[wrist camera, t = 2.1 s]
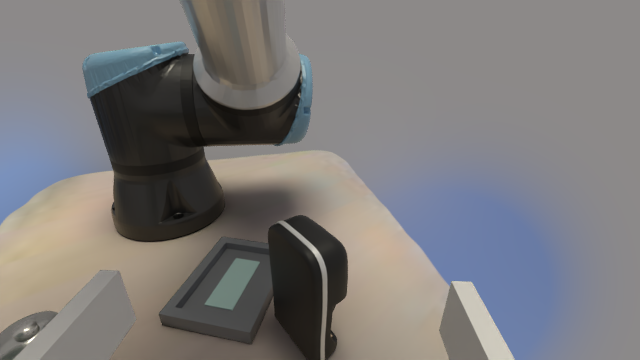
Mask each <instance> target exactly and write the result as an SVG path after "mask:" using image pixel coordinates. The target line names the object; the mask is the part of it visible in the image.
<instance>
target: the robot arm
mask: <svg viewBox="0 0 640 360" xmlns="http://www.w3.org/2000/svg"><path fill="white" fill-rule="evenodd" d="M180 3H181V5H182V8H183V10H184V12H185V15H186V17H187V20H188V22H189V25H190V27H191V30H192V32H193V34H194V37H195V39H196V42H197V44H198V48H197V50H196V53H195V54H188V53H189V49H188V48H187V47H186V44H185V43H184V42H173V43H166V44H158V45H151V46H144V47H137V48H130V49H123V50H115V51H108V52H101V53H94V54H91V55H89V56H88V57H86V59H85V60H84V62H83V66H82V69H83V74H84V78H85V83H86V87H87V91H88V93H87V96H88V98H90V101H91V104H92V106H93V110H94V113H95V116H96V119H97V122H98V125H99V128H100V131H101V134H102V137H103V140H104V143H105V146H106V149H107V152H108V155H109V158H110V161H111V164H112V168H113V171H114V189H113V194H114V202H113V205H112V210H111V213H112V218H113V221H114V224H115V227H116V229H117V231H118V232H119V233H120V234H121V235H123V236H125V237H127V238H130V239H134V240H141V241H157V240H166V239H171V238H176V237H180V236H183V235H186V234H189V233H192V232H195V231H197V230H199V229H201V228H203V227H205V226H207V225H208V224H210V223H211V222H213V221H214V220H215V219H216V218H217V217H218V216H219V215H220V214H221V213H222V211H223V209H224V206H225V201H224V195H223V190H222V187H221V186H220V184H219V183H218V181H217V179H216V177H215V175H214V173H213V171H212V169H211V168H210V166H209V164H208V162H207V160H206V158H205V153H204V148H203V146H235V145H275V146H280V145H283V144H290V143H297V142H299V141H301V140H302V139H303V138H304V137H305V135H306V132H307V129H308V126H309V121H310V114H311V113H310V107H311V103H312V70H311V64H310V61H309V59H308V58H307V57H306V56H305V55H302V54H299V53H298V50H297V48H296V46H295V44H294V43H293V41H292V40H291V39H290V38H289V37H288V36H287V35H286V28H285V3H284V0H180ZM135 321H136V317H135V314H134V311H133V308H132V305H131V303H130V300H129V297H128V294H127V291H126V289H125V286H124V283H123V280H122V277H121V275H120V272H119V271H114V270H100V271H99V272H98V273H97V274H96V275H95V276H94V277H93V278H92V279H91V280H90V281H89V282H88V283H87V284H86V285H85V286H84V287H83V288H82V289H81V290H80V291H79V293H78V294H77V295H76V296H75V297H74V298H73V299H72V300H71V301H70V302H69V303H68V304H67V305H66V306H65V307H64V308H63V309H62V310H61V311H60V312H59V313H58V314H57V315H56V316H55V317H54V318H53V319H52V320H51V321H50V322H49V323H48V324H47V325H46V326H45V327H44V328H43V329H42V330H41V331H40V332H39V333H38V334H37V336H36V337H35V338H34V339H33V340H32V341H31V342H30V343H29V344H28V345H27V346H26V347H25V348H24V349H23V350H22V351H21V352H20V353H19V354H18V355H17V356H16V357H15V358H14V359H13V360H109V359H110V357H111V356H112V354H113V353H114V351H115V350H116V349H117V347H118V346H119V344H120V343H121V341H122V340H123V338H124V337H125V335H126V334H127V332H128V331H129V330H130V328H131V327H132V325H133V324H134V322H135ZM439 331H440V334H441V337H442V340H443V343H444V345H445V348H446V351H447V354H448V357H449V360H515V359H514V358H513V356H512V354H511V352H510V350H509V348H508V347H507V345H506V343H505V341H504V340H503V338H502V336H501V334H500V332H499V330H498V329H497V327H496V325H495V323H494V321H493V320H492V318H491V316H490V314H489V312H488V311H487V309H486V307H485V305H484V303H483V301H482V300H481V298H480V296H479V294H478V293H477V291H476V289H475V287H474V285H473V283H472V282H460V281H452V282H451V285H450V289H449V293H448V297H447V301H446V305H445V309H444V313H443V317H442V321H441V325H440V329H439Z"/></svg>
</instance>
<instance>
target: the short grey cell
mask: <svg viewBox="0 0 640 360" xmlns="http://www.w3.org/2000/svg"><path fill="white" fill-rule="evenodd" d="M57 314H58V313H56V312H52V311H44V312H39V313H35V314H32V315H29V316H27V317H25V318H22V319H20V320H18V321H17V322H15V323H13V324H12V325H10V326H9V327H8V328H6V329H5V330H4V331H3V332H1V333H0V360H13V359H14V358H15V357H16V356H17V355H18V354H19V353H20V352H21V351H22V350H23V349H24V348H25V347H26V346H27V345H28V344H29V343H30V342H31V341H32V340H33V339H34V338H35V337H36V336H37V334H38V333H39V332H40V331H41V330H42V329H43V328H44V327H45V326H46V325H47V324H48V323H49V322H50V321H51V320H52V319H53V318H54V317H55V316H56V315H57Z"/></svg>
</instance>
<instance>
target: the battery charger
mask: <svg viewBox="0 0 640 360" xmlns="http://www.w3.org/2000/svg"><path fill="white" fill-rule="evenodd" d="M268 244H269V258H270V269H271V278H272V287H273V296H274V309H275V316H276V318H277V319H278V321H279V322H280V324H281V325H282V326H283V328H284V329H285V330H286V332H287V333H288V334H289V336H290V337H291V338H292V340H293V341H294V342H295V344H296V345H297V346H298V348H299V349H300V350H301V351H302V353H303V354H304V355H305V357H306V358H307V359H308V360H325V359H326V358H327V357H329V356H330V355H331V354H332V352H333V351H334V350H335V348H336V345H337V338H336V336H335V335H334V333H333V332H332V331H331V322H332V312H333V310H334V308H335V306H336V304H338V303H339V302H341V301H342V300H343V299H344V298H345V297H346V294H347V281H348V260H347V253H346V250H345V248H344V246H343V245H342V243H341V242H340V241H339V240H338V239H336V238H335V237H334V236H333V235H331V234H330V233H329V232H327V231H326V230H325V229H324V228H322V227H321V226H320V225H318V224H317V223H315V222H314V221H313V220H311V219H310V218H308V217H307V216H303V215H298V216H294V217H292V218H289V219H287V220H284V221H279V222H276V223H275V224H274V225H272V226H271V227H270V228H269V231H268Z"/></svg>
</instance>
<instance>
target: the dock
mask: <svg viewBox="0 0 640 360" xmlns="http://www.w3.org/2000/svg"><path fill="white" fill-rule="evenodd" d="M272 297H273V287H272V278H271V269H270V258H269V244H268V243H262V242H256V241H249V240H242V239H235V238H228V237H221V239H220V240H219V241H218V242H217V244H216V245H215V246H214V247H213V248H212V250H211V251H210V252H209V253H208V254H207V256H206V257H205V258H204V259H203V261H202V262H201V263H200V264H199V265H198V267H197V268H196V269H195V270H194V271H193V273H192V274H191V275H190V276H189V278H188V279H187V280H186V281H185V282H184V284H183V285H182V286H181V287H180V289H179V290H178V291H177V292H176V293H175V295H174V296H173V297H172V298H171V299H170V301H169V302H168V303H167V304H166V306H165V307H164V308H163V309H162V310H161V312H160V313H159V317H160V320H161V323H162V325H164V326H169V327H174V328H179V329H183V330H188V331H193V332H197V333H202V334H207V335H212V336H216V337H221V338H226V339H230V340H235V341H240V342H245V343H249V344H252V342H253V340H254V337H255V335H256V333H257V331H258V328H259V326H260V324H261V322H262V320H263V317H264V315H265V313H266V311H267V309H268V306H269V304H270V302H271V300H272Z"/></svg>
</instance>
